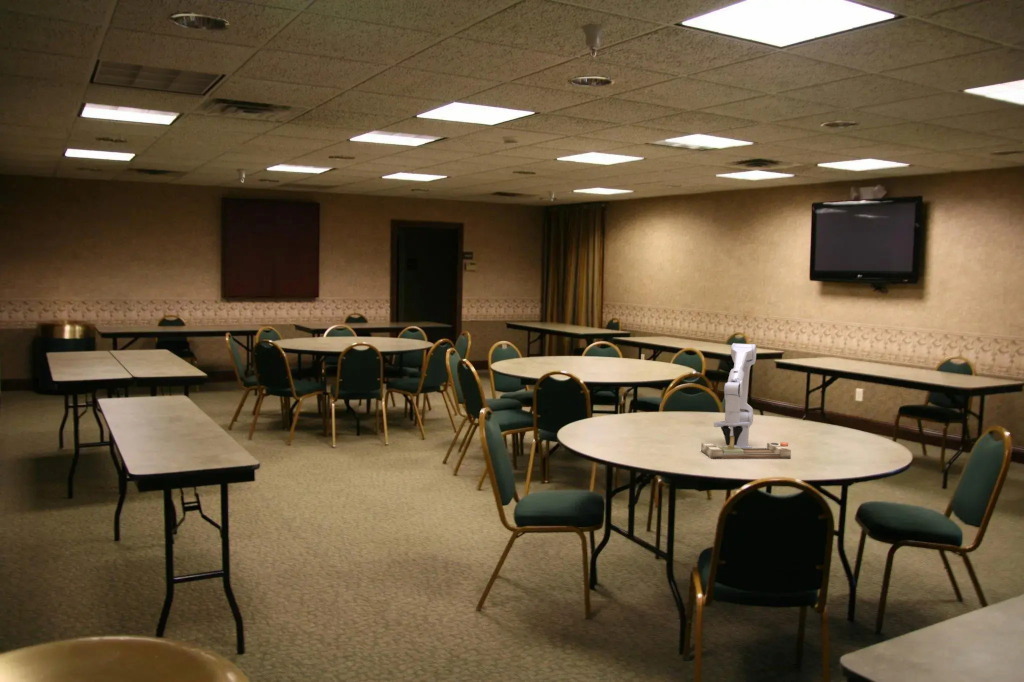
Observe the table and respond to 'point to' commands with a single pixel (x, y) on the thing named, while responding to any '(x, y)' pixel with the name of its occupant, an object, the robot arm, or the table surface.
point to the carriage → (731, 447)
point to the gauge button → (784, 444)
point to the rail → (748, 452)
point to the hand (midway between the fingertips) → (731, 444)
